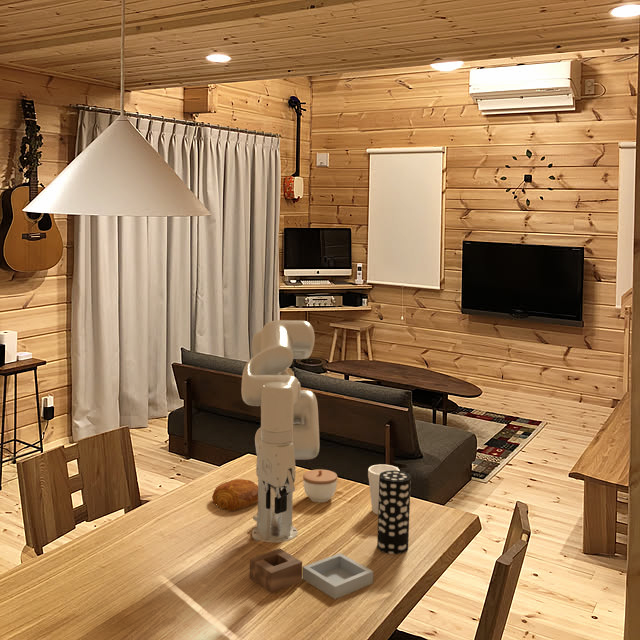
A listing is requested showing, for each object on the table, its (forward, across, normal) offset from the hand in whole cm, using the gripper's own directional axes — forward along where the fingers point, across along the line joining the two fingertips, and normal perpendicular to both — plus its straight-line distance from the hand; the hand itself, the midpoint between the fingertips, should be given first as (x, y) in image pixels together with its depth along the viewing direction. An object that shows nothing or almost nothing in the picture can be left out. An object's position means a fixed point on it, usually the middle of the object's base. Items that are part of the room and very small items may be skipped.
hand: (276, 509), depth 170 cm
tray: (+19, +10, +11) cm, 24 cm away
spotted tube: (+19, +4, +36) cm, 41 cm away
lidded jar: (+20, -34, +42) cm, 58 cm away
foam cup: (+19, -15, +51) cm, 57 cm away
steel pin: (+6, 0, 0) cm, 6 cm away
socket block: (+19, 0, 0) cm, 19 cm away
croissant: (+20, -48, +20) cm, 55 cm away
